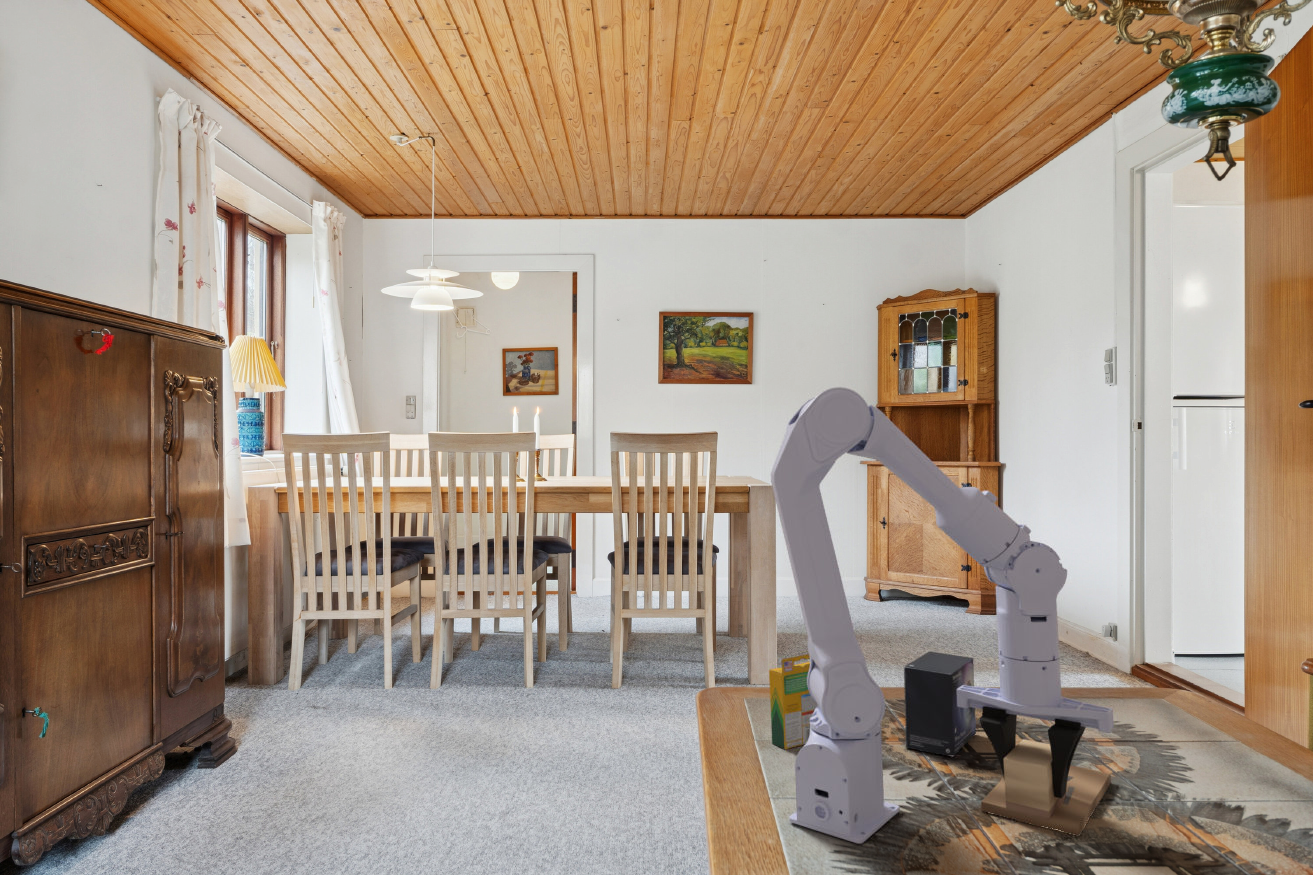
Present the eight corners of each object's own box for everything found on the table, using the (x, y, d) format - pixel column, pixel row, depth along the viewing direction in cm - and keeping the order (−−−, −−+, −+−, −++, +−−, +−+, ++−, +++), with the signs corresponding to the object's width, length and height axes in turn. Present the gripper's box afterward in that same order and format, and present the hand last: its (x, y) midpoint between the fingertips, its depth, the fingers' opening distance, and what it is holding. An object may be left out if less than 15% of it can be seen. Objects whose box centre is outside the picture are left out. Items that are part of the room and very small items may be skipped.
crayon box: (812, 732, 103) (809, 647, 104) (827, 739, 101) (824, 651, 101) (770, 743, 99) (767, 654, 100) (785, 750, 97) (782, 659, 98)
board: (1078, 836, 72) (1078, 825, 72) (981, 811, 78) (981, 801, 78) (1110, 782, 84) (1110, 773, 85) (1024, 764, 90) (1024, 755, 90)
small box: (956, 759, 92) (952, 673, 93) (904, 749, 96) (900, 666, 97) (979, 734, 101) (975, 655, 101) (930, 726, 105) (926, 649, 105)
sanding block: (1049, 819, 74) (1046, 767, 74) (1006, 808, 76) (1003, 758, 77) (1066, 795, 79) (1063, 746, 79) (1025, 785, 82) (1022, 738, 82)
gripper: (1116, 656, 77) (1123, 793, 76) (969, 639, 86) (975, 760, 85) (1102, 671, 71) (1110, 818, 71) (947, 651, 81) (953, 781, 80)
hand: (1035, 788), depth 78 cm, fingers closed on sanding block, 4 cm apart
